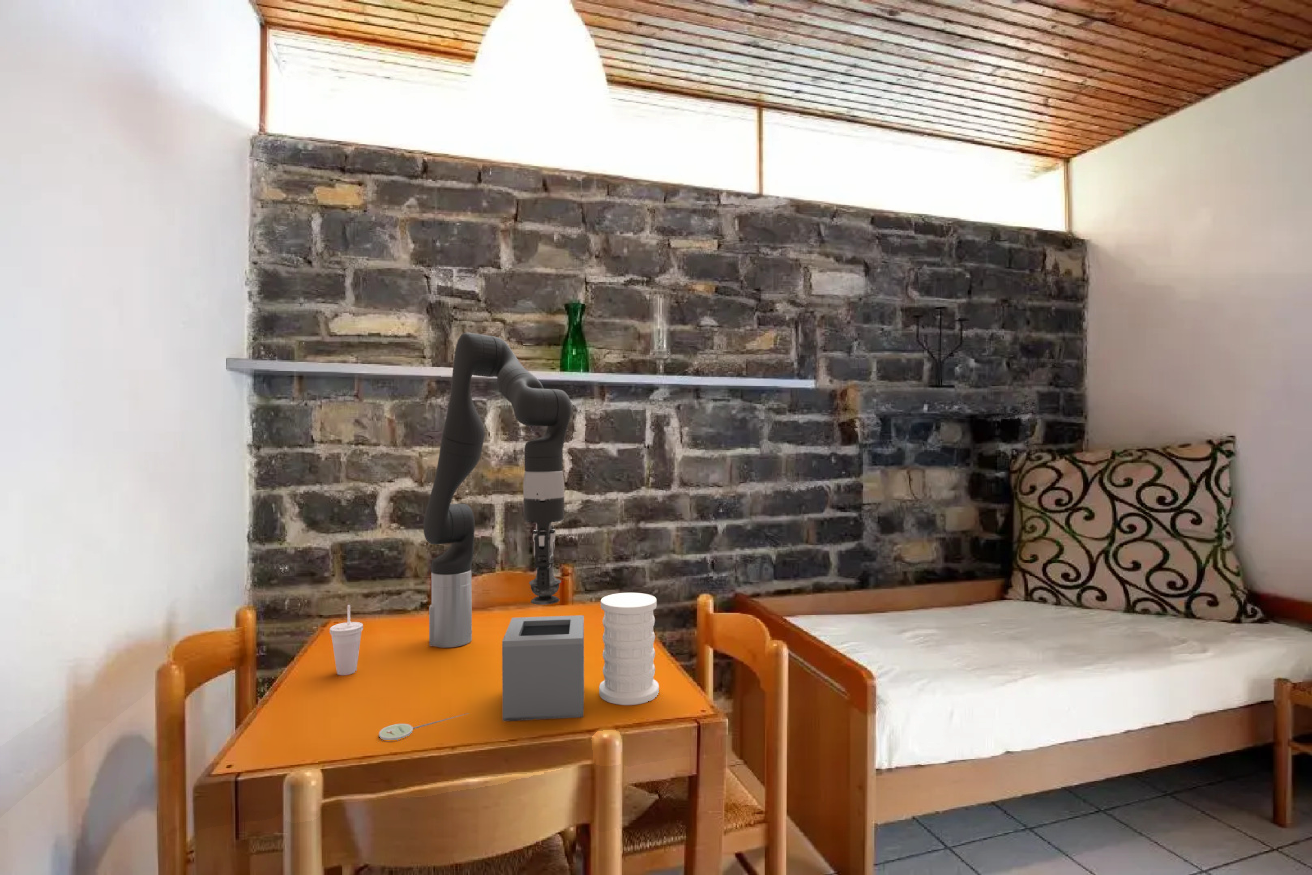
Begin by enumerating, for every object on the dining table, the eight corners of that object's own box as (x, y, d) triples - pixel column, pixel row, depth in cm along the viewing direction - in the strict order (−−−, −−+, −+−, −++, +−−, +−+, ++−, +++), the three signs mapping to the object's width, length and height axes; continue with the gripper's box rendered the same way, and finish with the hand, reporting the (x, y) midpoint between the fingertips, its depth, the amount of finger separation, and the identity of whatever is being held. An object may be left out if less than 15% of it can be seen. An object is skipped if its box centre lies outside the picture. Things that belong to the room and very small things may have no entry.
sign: (473, 717, 110) (383, 741, 101) (473, 722, 110) (383, 746, 101) (463, 706, 114) (375, 728, 105) (463, 711, 114) (375, 734, 105)
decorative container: (591, 686, 124) (591, 595, 124) (645, 676, 128) (645, 589, 128) (610, 709, 113) (610, 610, 113) (668, 698, 118) (668, 603, 117)
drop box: (502, 721, 108) (502, 641, 108) (512, 688, 122) (512, 617, 122) (583, 717, 110) (583, 638, 110) (583, 685, 124) (583, 615, 124)
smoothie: (370, 668, 133) (369, 603, 133) (344, 679, 127) (343, 611, 127) (349, 664, 136) (349, 600, 136) (322, 674, 130) (322, 607, 130)
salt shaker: (554, 605, 113) (553, 539, 113) (524, 604, 114) (523, 538, 114) (565, 597, 118) (565, 534, 118) (536, 596, 120) (536, 533, 120)
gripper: (527, 492, 123) (528, 577, 123) (519, 499, 109) (520, 595, 109) (565, 491, 124) (566, 576, 124) (562, 498, 109) (563, 594, 109)
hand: (544, 584), depth 116 cm, fingers closed on salt shaker, 6 cm apart
